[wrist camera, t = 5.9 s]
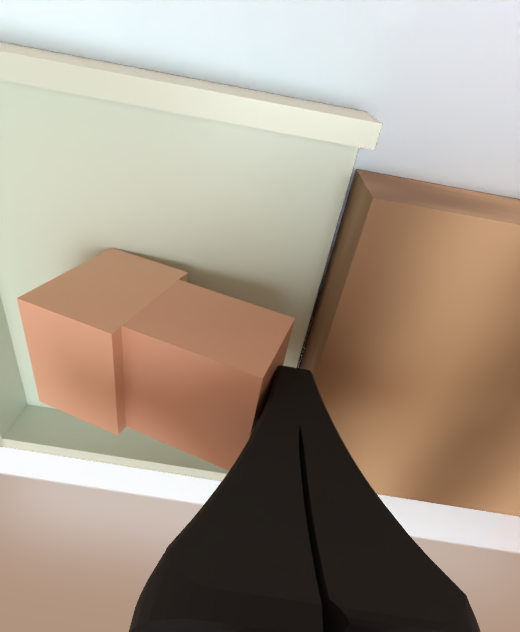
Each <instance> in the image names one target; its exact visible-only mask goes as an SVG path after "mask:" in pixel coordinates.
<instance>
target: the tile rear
mask: <svg viewBox="0 0 520 632" xmlns="http://www.w3.org/2000/svg"><path fill="white" fill-rule="evenodd" d="M187 276H188V272H185V271H182V270H179V269H176V268H173V267H170V266H167V265H164V264H161V263H158V262H155V261H152V260H149V259H145V258H142V257H139V256H136V255H133V254H130V253H127V252H124V251H121V250H118V249H115V248H110V249H108V250H106V251H104V252H102V253H100V254H99V255H97V256H95V257H93V258H91V259H89V260H87V261H85V262H84V263H82V264H80V265H78V266H76V267H74V268H72V269H70V270H69V271H67V272H65V273H63V274H61V275H59V276H57V277H55V278H54V279H52V280H50V281H48V282H46V283H44V284H42V285H40V286H39V287H37V288H35V289H33V290H31V291H29V292H27V293H25V294H24V295H22V296H20V297H18V298H17V302H18V306H19V311H20V315H21V320H22V324H23V329H24V333H25V338H26V342H27V347H28V351H29V356H30V361H31V365H32V370H33V374H34V379H35V383H36V388H37V392H38V397H39V401H40V402H42V403H45V404H47V405H49V406H51V407H54V408H56V409H58V410H61V411H63V412H65V413H67V414H70V415H72V416H74V417H77V418H79V419H81V420H84V421H86V422H88V423H90V424H93V425H95V426H97V427H100V428H102V429H104V430H106V431H109V432H111V433H113V434H116V435H119V434H120V433H121V432H122V431H123V430H124V428H125V427H126V418H125V396H124V374H123V352H122V330H121V326H122V325H123V324H124V323H125V322H127V321H128V320H129V319H130V318H132V317H133V316H134V315H135V314H137V313H138V312H139V311H140V310H141V309H143V308H144V307H145V306H146V305H148V304H149V303H150V302H151V301H153V300H154V299H155V298H156V297H158V296H159V295H160V294H161V293H163V292H164V291H165V290H166V289H167V288H169V287H170V286H171V285H172V284H174V283H175V282H176V281H177V280H182V281H185V282H187Z"/></svg>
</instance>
